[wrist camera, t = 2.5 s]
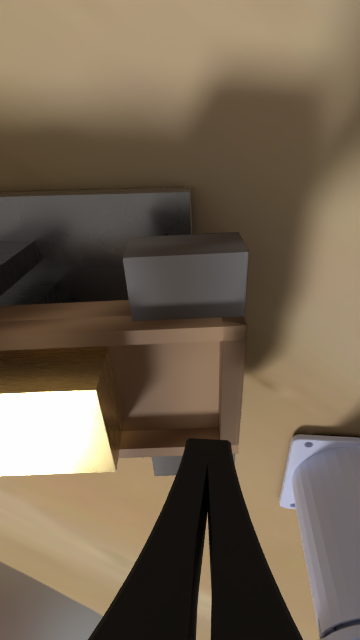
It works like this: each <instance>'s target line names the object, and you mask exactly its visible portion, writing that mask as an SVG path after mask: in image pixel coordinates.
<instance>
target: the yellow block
mask: <svg viewBox="0 0 360 640" xmlns="http://www.w3.org/2000/svg"><path fill="white" fill-rule="evenodd" d="M123 426H124V417H123V412H122V407H121V402H120V397H119V392H118V387H117V382H116V377H115V372H114V367H113V362H112V357H111V352H110V347H109V346H96V347H73V348H50V349H27V350H4V351H0V476H10V475H37V474H64V473H92V472H116V468H117V462H118V456H119V450H120V444H121V438H122V432H123Z"/></svg>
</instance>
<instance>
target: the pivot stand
mask: <svg viewBox="0 0 360 640" xmlns="http://www.w3.org/2000/svg"><path fill="white" fill-rule="evenodd" d="M190 234H193V221H192V187H167V188H131V189H96V190H60V191H24V192H0V306H8V305H30V304H52V303H74V302H96V301H118V300H129V298H128V291H127V284H126V277H125V271H124V264H123V256H124V253H125V250H126V247H127V244H128V242H129V239H130V237H149V236H169V235H190Z"/></svg>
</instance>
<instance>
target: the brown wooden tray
mask: <svg viewBox="0 0 360 640" xmlns="http://www.w3.org/2000/svg"><path fill="white" fill-rule="evenodd" d="M248 253H249V252H248V250H247V248H246V246H245V244H244V242H243V240H242V238H241V236H240V234H239V232H231V233H210V234H190V235H169V236H149V237H130V239H129V242H128V244H127V247H126V250H125V253H124V256H123V264H124V271H125V277H126V284H127V291H128V298H129V300H118V301H96V302H74V303H52V304H30V305H8V306H0V351H4V350H27V349H50V348H73V347H96V346H109V347H110V352H111V357H112V362H113V367H114V372H115V377H116V382H117V387H118V392H119V397H120V402H121V407H122V412H123V417H124V426H123V432H122V438H121V444H120V450H119V456H118V458H132V457H152V461H153V468H154V475H155V476H169V475H176V474H177V471H178V469H179V466H180V463H181V459H182V456H183V452H184V449H185V444H186V440H188V439H189V438H197V439H214V440H228V441H229V442H231V447H232V454H233V460H234V464H235V454H238V446H239V433H240V419H241V405H242V392H243V378H244V364H245V351H246V337H247V323H246V320H245V317H244V313H245V298H246V283H247V268H248Z"/></svg>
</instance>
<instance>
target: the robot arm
mask: <svg viewBox="0 0 360 640" xmlns="http://www.w3.org/2000/svg"><path fill="white" fill-rule="evenodd" d="M279 502H280V506H281V507H283V508H290V509H296V511H297V517H298V522H299V528H300V533H301V539H302V544H303V550H304V555H305V561H306V566H307V572H308V577H309V583H310V588H311V594H312V599H313V604H314V610H315V615H316V621H317V626H318V632H319V637H320V640H360V438H357V437H339V436H321V435H303V434H299V435H295V436H293V437H292V439H291V444H290V449H289V454H288V459H287V464H286V469H285V474H284V479H283V483H282V488H281V493H280V498H279ZM207 512H208V529H209V549H210V569H211V589H212V610H211V640H303V639H302V637H301V635H300V633H299V631H298V629H297V627H296V625H295V623H294V621H293V619H292V616H291V614H290V612H289V610H288V608H287V606H286V604H285V601H284V599H283V597H282V595H281V593H280V591H279V588H278V586H277V584H276V582H275V579H274V577H273V575H272V572H271V570H270V568H269V565H268V563H267V561H266V558H265V556H264V553H263V551H262V548H261V546H260V543H259V540H258V538H257V535H256V533H255V530H254V527H253V524H252V522H251V519H250V516H249V513H248V510H247V507H246V504H245V501H244V498H243V495H242V491H241V488H240V485H239V481H238V477H237V473H236V469H235V465H234V460H233V454H232V447H231V442H229V441H228V440H214V439H197V438H189V439H188V440H186V444H185V449H184V452H183V456H182V459H181V463H180V466H179V469H178V471H177V474H176V477H175V480H174V482H173V485H172V487H171V490H170V492H169V494H168V497H167V499H166V502H165V504H164V506H163V509H162V511H161V513H160V515H159V517H158V519H157V521H156V523H155V525H154V527H153V530H152V532H151V534H150V536H149V538H148V540H147V542H146V544H145V546H144V548H143V549H142V551H141V553H140V555H139V557H138V559H137V561H136V562H135V564H134V566H133V568H132V570H131V571H130V573H129V575H128V577H127V578H126V580H125V582H124V583H123V585H122V587H121V588H120V590H119V592H118V593H117V595H116V597H115V598H114V600H113V602H112V603H111V605H110V607H109V608H108V610H107V611H106V613H105V615H104V616H103V618H102V619H101V621H100V622H99V624H98V625H97V627H96V628H95V630H94V631H93V633H92V634H91V636H90V637H89V639H88V640H196V623H197V604H198V592H199V583H200V574H201V565H202V556H203V547H204V539H205V530H206V521H207Z"/></svg>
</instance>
